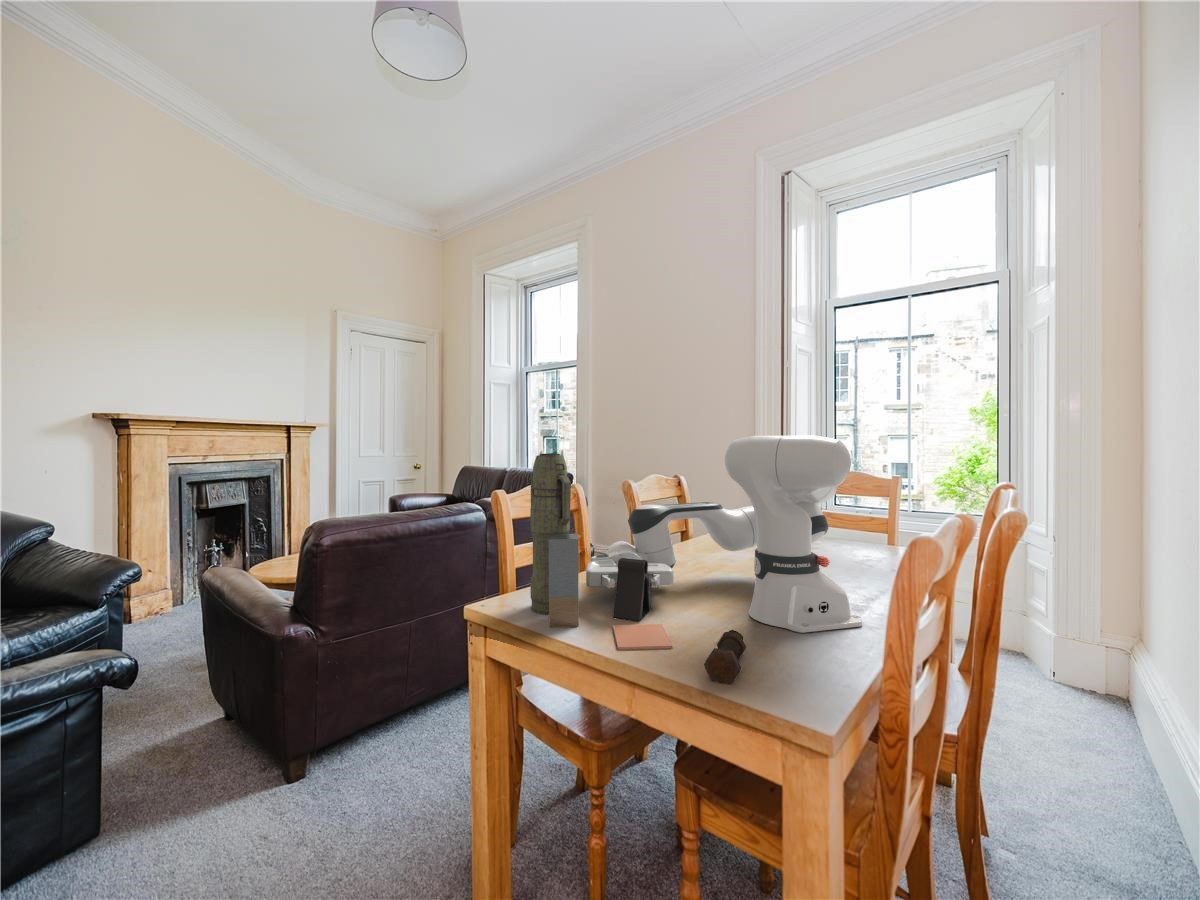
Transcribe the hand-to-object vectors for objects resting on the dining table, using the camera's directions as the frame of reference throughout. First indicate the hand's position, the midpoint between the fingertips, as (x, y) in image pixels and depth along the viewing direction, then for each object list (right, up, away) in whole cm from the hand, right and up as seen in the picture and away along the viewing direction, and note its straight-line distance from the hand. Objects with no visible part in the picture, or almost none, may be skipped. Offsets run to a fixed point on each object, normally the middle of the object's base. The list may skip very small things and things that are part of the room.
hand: (633, 584), depth 114 cm
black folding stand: (0, -7, 0) cm, 7 cm away
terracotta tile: (+1, -7, -13) cm, 15 cm away
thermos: (-18, -7, +4) cm, 20 cm away
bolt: (+15, -8, -25) cm, 30 cm away
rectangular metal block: (-15, -7, -4) cm, 17 cm away
